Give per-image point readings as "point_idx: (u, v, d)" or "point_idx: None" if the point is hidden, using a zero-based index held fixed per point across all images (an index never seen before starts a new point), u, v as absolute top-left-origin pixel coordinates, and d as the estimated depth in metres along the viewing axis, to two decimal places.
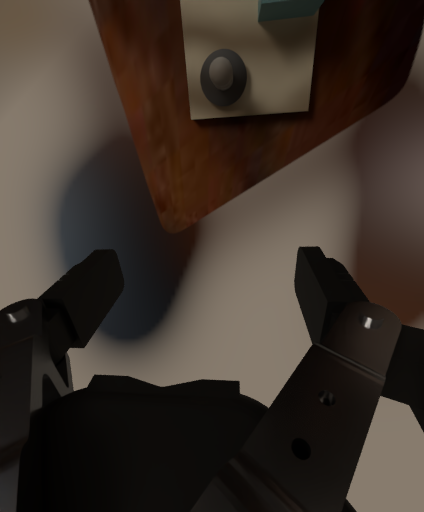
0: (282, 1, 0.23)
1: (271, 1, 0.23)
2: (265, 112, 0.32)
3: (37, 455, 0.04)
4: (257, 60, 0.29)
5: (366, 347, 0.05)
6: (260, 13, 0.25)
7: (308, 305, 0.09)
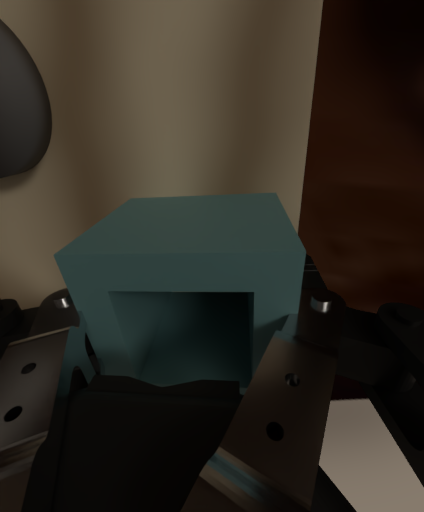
0: None
1: (67, 284, 0.06)
2: None
3: None
4: (56, 203, 0.11)
5: (320, 328, 0.06)
6: None
7: None
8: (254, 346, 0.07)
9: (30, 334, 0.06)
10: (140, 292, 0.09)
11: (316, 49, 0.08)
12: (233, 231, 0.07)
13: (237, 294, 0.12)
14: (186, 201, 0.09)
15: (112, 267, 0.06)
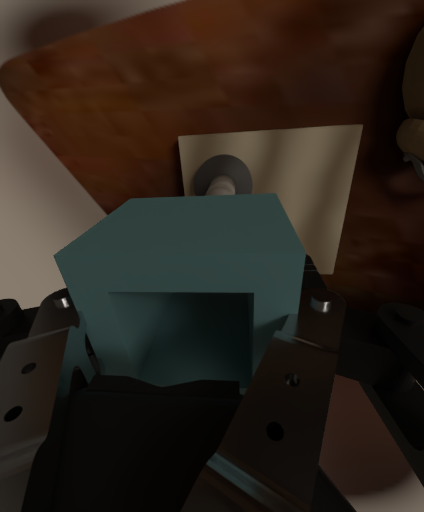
0: None
1: (68, 285, 0.06)
2: None
3: None
4: None
5: (319, 328, 0.06)
6: None
7: None
8: (254, 347, 0.07)
9: (30, 334, 0.06)
10: (140, 292, 0.09)
11: (352, 174, 0.23)
12: (233, 232, 0.07)
13: (237, 294, 0.12)
14: (186, 202, 0.09)
15: (112, 268, 0.06)
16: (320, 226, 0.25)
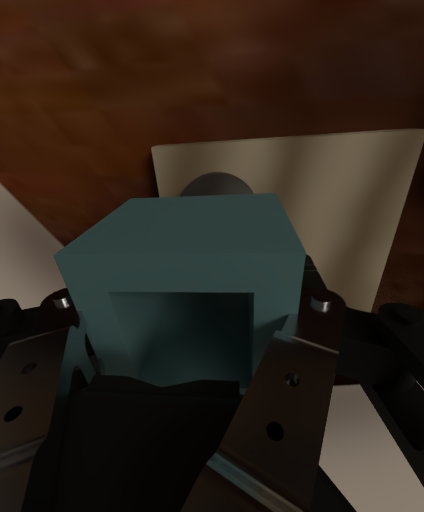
0: None
1: (68, 284, 0.06)
2: None
3: None
4: None
5: (319, 328, 0.06)
6: None
7: None
8: (254, 346, 0.07)
9: (30, 334, 0.06)
10: (140, 293, 0.09)
11: (403, 200, 0.16)
12: (233, 232, 0.07)
13: (237, 294, 0.12)
14: (186, 202, 0.09)
15: (112, 267, 0.06)
16: (352, 269, 0.18)
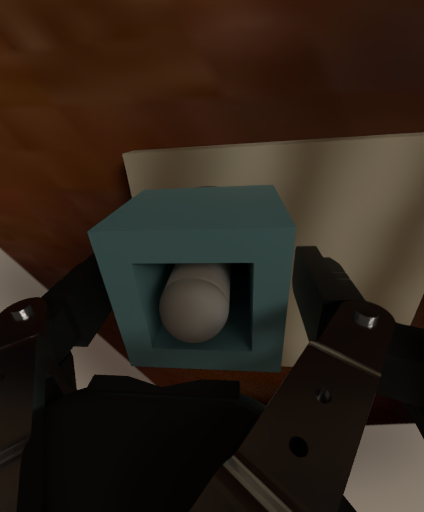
0: (106, 284, 0.08)
1: (98, 258, 0.08)
2: None
3: (37, 455, 0.04)
4: None
5: (361, 345, 0.05)
6: None
7: (305, 304, 0.09)
8: (254, 312, 0.08)
9: None
10: (154, 270, 0.10)
11: None
12: (236, 214, 0.08)
13: (238, 278, 0.13)
14: (194, 192, 0.11)
15: (136, 242, 0.07)
16: (379, 304, 0.15)
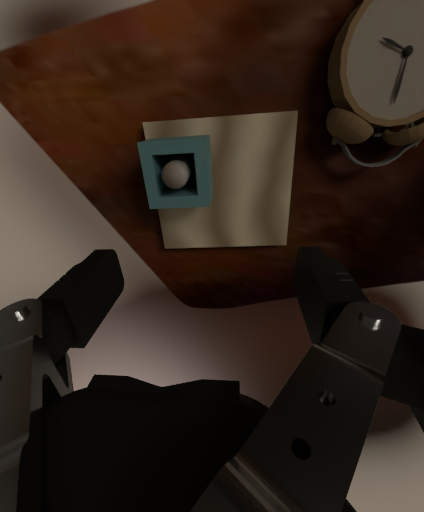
0: (141, 165, 0.22)
1: (139, 153, 0.22)
2: (159, 210, 0.31)
3: (37, 455, 0.04)
4: None
5: (366, 347, 0.05)
6: (145, 141, 0.24)
7: (308, 305, 0.09)
8: (196, 175, 0.22)
9: None
10: (159, 167, 0.24)
11: (293, 154, 0.27)
12: (189, 138, 0.22)
13: None
14: (175, 137, 0.25)
15: (153, 146, 0.22)
16: (271, 201, 0.29)
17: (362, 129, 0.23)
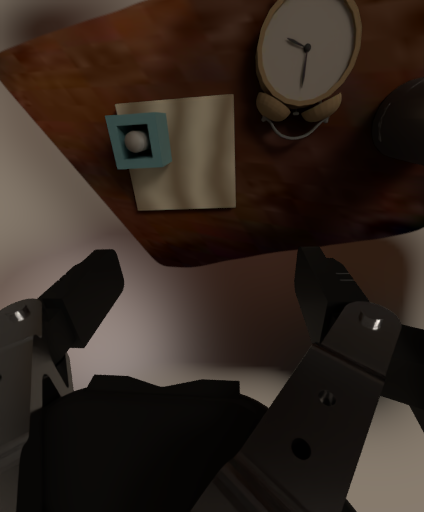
0: (109, 134, 0.30)
1: (107, 124, 0.29)
2: (132, 177, 0.38)
3: (37, 455, 0.04)
4: (164, 168, 0.37)
5: (366, 347, 0.05)
6: None
7: (308, 305, 0.09)
8: (150, 141, 0.30)
9: None
10: (124, 137, 0.31)
11: None
12: None
13: None
14: None
15: (117, 118, 0.29)
16: (220, 169, 0.36)
17: (278, 108, 0.30)
